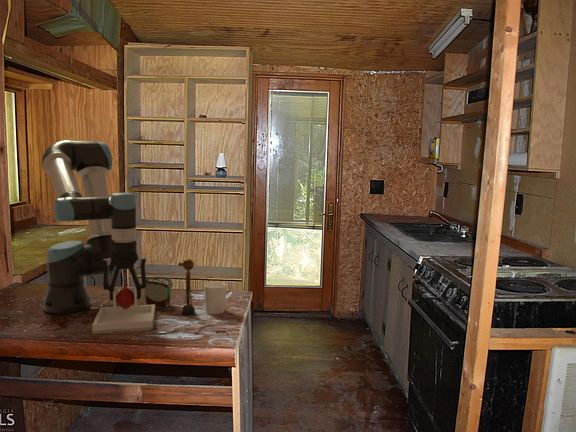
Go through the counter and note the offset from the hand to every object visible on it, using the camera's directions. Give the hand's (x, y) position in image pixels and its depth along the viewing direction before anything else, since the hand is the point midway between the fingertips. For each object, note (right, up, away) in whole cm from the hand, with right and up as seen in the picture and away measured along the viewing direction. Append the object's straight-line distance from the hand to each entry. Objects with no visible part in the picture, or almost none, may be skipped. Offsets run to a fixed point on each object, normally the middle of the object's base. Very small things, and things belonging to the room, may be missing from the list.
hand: (125, 308), depth 148 cm
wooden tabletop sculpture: (+18, -4, +10) cm, 21 cm away
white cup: (+27, -4, +14) cm, 31 cm away
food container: (+7, -3, +19) cm, 20 cm away
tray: (0, -5, +1) cm, 5 cm away
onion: (0, 0, 0) cm, 1 cm away
